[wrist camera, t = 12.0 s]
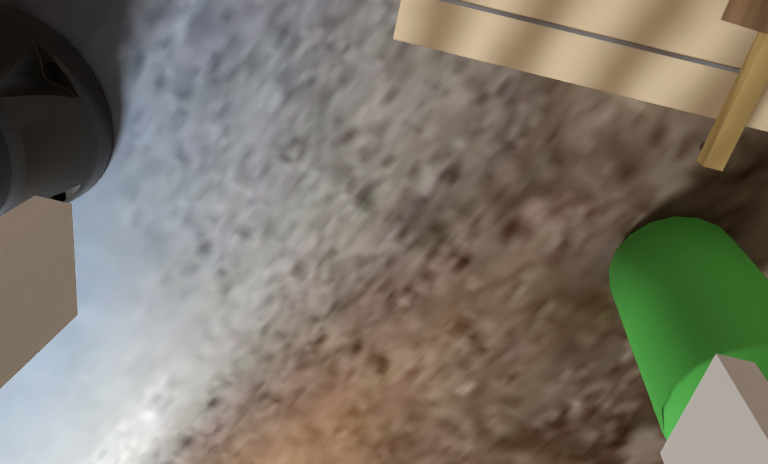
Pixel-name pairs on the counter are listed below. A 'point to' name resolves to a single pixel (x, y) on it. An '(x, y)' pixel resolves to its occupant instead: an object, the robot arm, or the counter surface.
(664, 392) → the bottle
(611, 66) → the board
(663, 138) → the counter surface
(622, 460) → the counter surface
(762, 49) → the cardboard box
